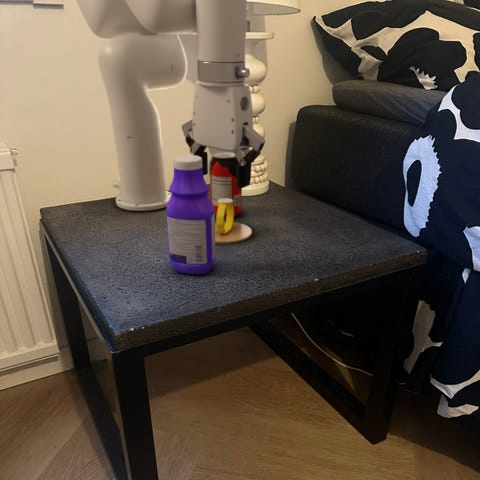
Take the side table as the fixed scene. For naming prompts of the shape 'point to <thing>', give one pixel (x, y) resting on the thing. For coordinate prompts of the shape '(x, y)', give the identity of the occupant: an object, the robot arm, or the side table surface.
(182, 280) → the side table surface
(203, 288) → the side table surface
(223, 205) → the watch
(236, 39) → the robot arm
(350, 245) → the side table surface
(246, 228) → the coaster
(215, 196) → the beverage can
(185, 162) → the bottle
